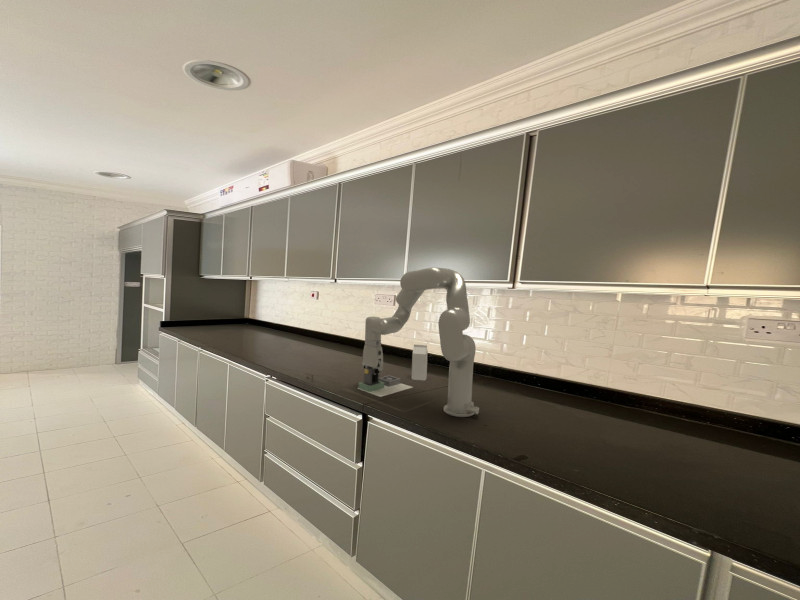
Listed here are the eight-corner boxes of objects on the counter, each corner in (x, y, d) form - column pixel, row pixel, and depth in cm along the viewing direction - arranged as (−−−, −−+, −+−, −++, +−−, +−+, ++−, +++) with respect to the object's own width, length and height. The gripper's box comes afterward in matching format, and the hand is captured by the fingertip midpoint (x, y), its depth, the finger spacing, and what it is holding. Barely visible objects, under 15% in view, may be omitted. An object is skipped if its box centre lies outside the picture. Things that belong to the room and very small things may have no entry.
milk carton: (424, 382, 182) (426, 346, 181) (411, 381, 184) (412, 345, 183) (426, 379, 189) (427, 344, 188) (413, 377, 191) (414, 343, 190)
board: (413, 389, 170) (413, 382, 170) (380, 399, 154) (380, 391, 154) (389, 382, 181) (390, 375, 181) (356, 390, 165) (357, 383, 165)
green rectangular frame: (384, 387, 167) (384, 382, 167) (369, 391, 160) (369, 386, 160) (373, 384, 172) (373, 379, 172) (358, 388, 165) (358, 382, 165)
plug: (379, 384, 167) (379, 367, 167) (368, 387, 162) (368, 370, 162) (373, 382, 170) (373, 366, 169) (362, 385, 165) (363, 368, 164)
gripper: (391, 344, 162) (389, 383, 163) (367, 339, 174) (365, 376, 175) (379, 346, 157) (377, 386, 158) (355, 341, 168) (354, 378, 169)
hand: (371, 380), depth 166 cm, fingers closed on plug, 4 cm apart
